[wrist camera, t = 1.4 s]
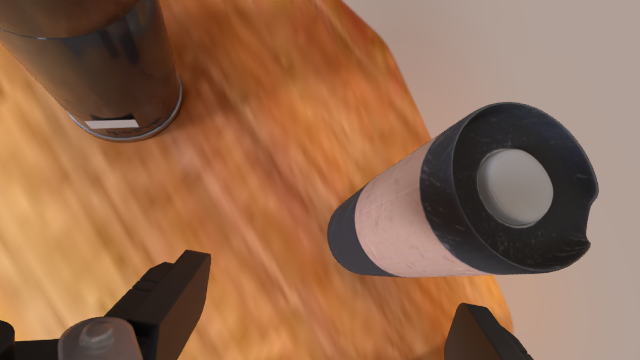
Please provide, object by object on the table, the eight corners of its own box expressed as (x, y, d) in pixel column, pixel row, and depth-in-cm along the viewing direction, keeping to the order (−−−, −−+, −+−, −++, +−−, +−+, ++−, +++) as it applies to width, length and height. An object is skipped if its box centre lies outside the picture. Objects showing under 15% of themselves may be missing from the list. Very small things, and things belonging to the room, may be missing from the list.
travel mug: (311, 210, 33) (417, 122, 15) (382, 185, 36) (552, 81, 17) (342, 291, 32) (500, 308, 13) (413, 259, 34) (633, 236, 16)
